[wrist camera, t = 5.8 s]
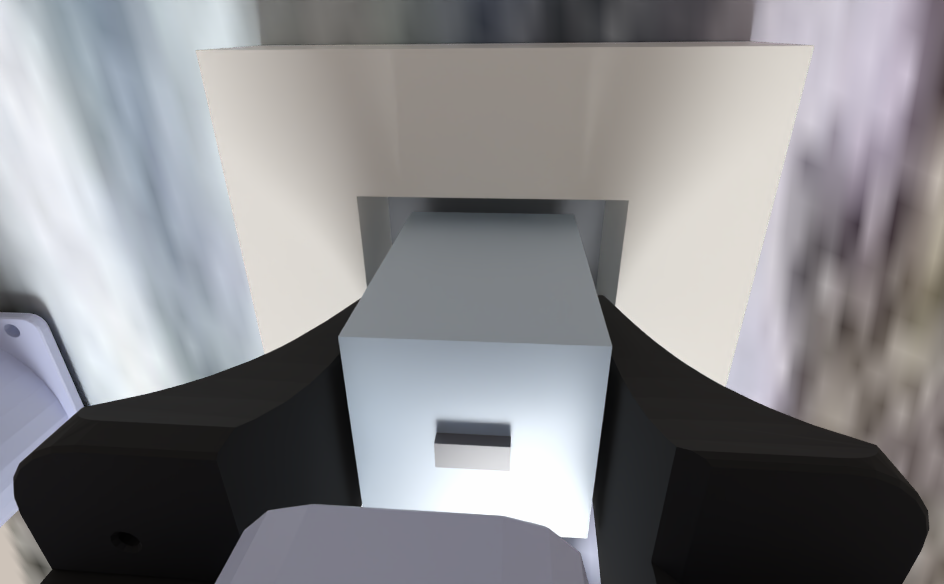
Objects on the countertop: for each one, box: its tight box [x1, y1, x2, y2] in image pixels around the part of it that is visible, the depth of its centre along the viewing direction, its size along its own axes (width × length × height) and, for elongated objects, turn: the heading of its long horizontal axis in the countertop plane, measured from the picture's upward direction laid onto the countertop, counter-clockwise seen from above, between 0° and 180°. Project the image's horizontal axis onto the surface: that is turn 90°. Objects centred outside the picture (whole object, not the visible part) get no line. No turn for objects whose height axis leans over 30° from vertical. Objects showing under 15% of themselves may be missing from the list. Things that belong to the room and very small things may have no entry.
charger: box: [338, 212, 612, 538], centre depth 11 cm, size 4×4×6 cm
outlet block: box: [196, 41, 814, 387], centre depth 14 cm, size 12×12×3 cm
